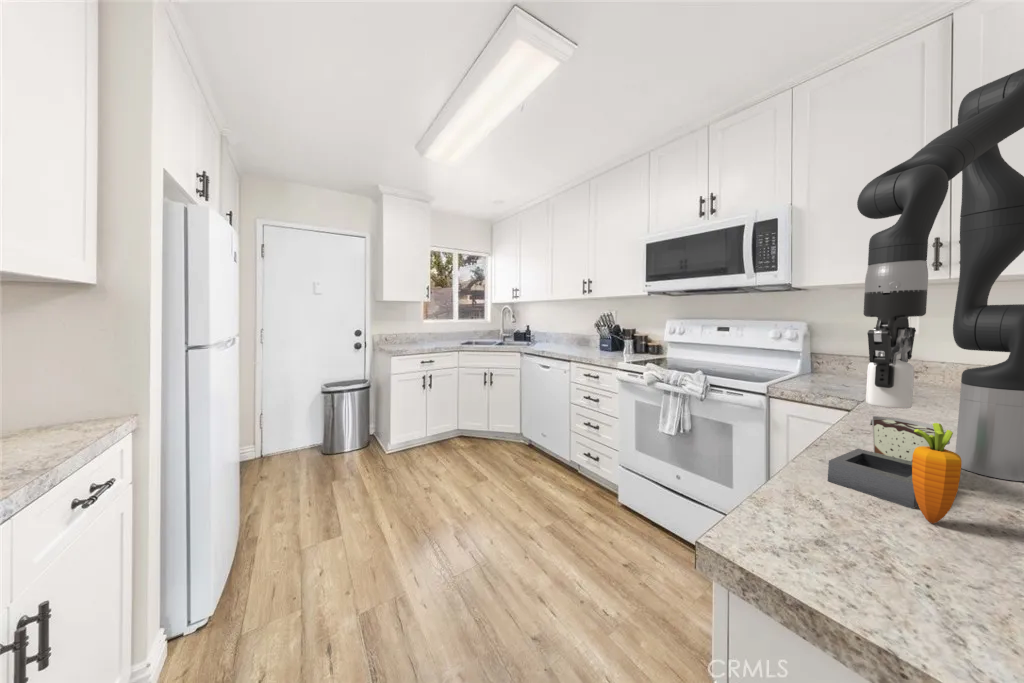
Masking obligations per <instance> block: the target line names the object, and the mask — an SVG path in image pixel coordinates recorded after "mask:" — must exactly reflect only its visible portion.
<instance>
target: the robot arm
mask: <svg viewBox="0 0 1024 683" xmlns="http://www.w3.org/2000/svg"><path fill="white" fill-rule="evenodd" d="M1023 128H1024V68H1021V69H1019V70H1017V71H1014V72H1012V73H1010V74H1008V75H1004V76H1002V77H1000V78H998V79H995V80H993V81H991V82H988V83H986V84H984V85H982V86H979V87H977V88H975V89H972V90H971V91H969V92H968V93H966V95H965V96H964V97H963V98H962V100H961V102H960V105H959V107H958V114H957V125H956V126H954V127H952V128H950V129H948V130H945V132H943V133H942V134H940V135H938V136H937V137H935V138H933V139H932V140H931V141H929V142H928V143H927V144H926V145H925V146H923V147H922V148H921V149H920V150H919V151H917V152H916V153H914V155H912V156H911V157H909V159H907V160H905V161H903V162H901V163H899V164H897V165H895V166H894V167H892V168H890V169H889V170H887V171H885V172H883V173H881V174H880V175H878V176H876V177H874V178H873V179H872V180H870V181H869V182H868V183H867V184H866V185H865V186H864V187H863V188H862V190H861V191H860V193H859V195H858V198H857V202H856V205H857V209H858V212H859V213H860V214H861V216H864V217H865V218H867V219H871V220H879V219H886V218H891V217H896V216H899V215H900V216H899V219H898V220H897V221H896V223H894V224H893V225H892V226H890V227H888V228H885V229H883V230H880V231H877V232H876V233H874V234H873V235H872V236H870V239H869V241H868V242H869V243H868V255H867V256H868V257H867V260H868V261H867V270H866V274H865V278H864V280H865V281H864V298H863V316H864V317H866V318H867V317H868V318H877V321H876V325H875V327H873V329H869V330H868V331H867V341H868V342H867V343H868V355H869V358H868V360H869V363H874V365H877V366H876V370H875V385H876V386H877V387H884V388H891V387H893V386H894V372H895V367H894V366H895V365H896V357H897V355H898V354H900V353H901V359H899V360H901V361H904V362H907V363H909V360H911V359H912V357H913V355H912V354H913V348H914V339H915V335H916V332H917V330H916V328H915V327H912V326H910V323H909V321H910V320H909V317H912V318H913V317H923V316H925V315H927V304H928V303H927V302H928V288H929V287H928V286H929V285H928V284H929V270H928V269H929V268H928V251H929V250H928V248H929V236H930V234H931V231H932V229H933V226H934V224H935V222H936V219H937V218H938V214H939V212H940V209H941V208H942V205H943V204H944V201H945V199H946V198H947V194H948V191H949V183H950V181H951V180H953V179H954V178H955V177H956V176H957V175H958V174H960V173H961V202H960V203H961V205H960V215H959V216H960V217H959V276H958V277H959V279H958V285H957V286H958V287H957V291H956V293H957V294H956V301H955V307H954V313H953V323H952V334H953V335H952V336H953V340H954V343H955V344H956V346H957V347H958V348H961V349H963V350H968V351H980V352H997V353H998V352H1000V353H1009V355H1008V356H1007V359H1006V360H1004V361H1003V362H999V363H996V364H992V365H988V366H981V367H980V366H979V367H972V368H967V369H965V370H963V371H962V373H961V376H960V377H961V380H960V382H961V383H960V391H959V404H958V405H959V406H958V415H957V416H958V417H957V427H956V441H955V443H956V444H955V451H954V453H956V454H958V455H959V456H960V457H961V461H962V466H961V470H962V469H963V470H964V471H968V472H971V473H975V474H979V475H982V476H985V477H991V478H996V479H1001V480H1006V481H1016V482H1024V304H1021V303H1020V304H1016V303H1015V304H988V303H989V302H988V301H989V296H990V292H991V289H992V287H993V286H994V284H995V282H996V281H997V279H998V278H999V276H1001V274H1002V273H1003V272H1004V271H1005V270H1006V269H1007V268H1008V267H1009V266H1010V265H1011V264H1012V263H1013V262H1014V261H1015V260H1016V259H1017V258H1018V257H1019V256H1020V255H1021V254H1022V253H1023V252H1024V175H1023V174H1022V173H1020V172H1019V171H1017V170H1016V169H1014V168H1013V167H1012V166H1011V165H1010V164H1009V163H1008V162H1007V161H1005V159H1004V157H1003V156H1002V154H1001V151H1000V147H999V143H1002V141H1004V140H1007V138H1008V137H1010V136H1012V135H1013V134H1015V133H1017V132H1018V131H1020V130H1021V129H1023ZM891 347H893V348H891ZM882 353H885V356H881V354H882Z"/></svg>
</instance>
